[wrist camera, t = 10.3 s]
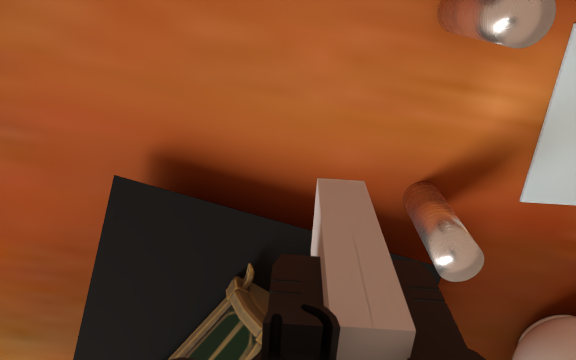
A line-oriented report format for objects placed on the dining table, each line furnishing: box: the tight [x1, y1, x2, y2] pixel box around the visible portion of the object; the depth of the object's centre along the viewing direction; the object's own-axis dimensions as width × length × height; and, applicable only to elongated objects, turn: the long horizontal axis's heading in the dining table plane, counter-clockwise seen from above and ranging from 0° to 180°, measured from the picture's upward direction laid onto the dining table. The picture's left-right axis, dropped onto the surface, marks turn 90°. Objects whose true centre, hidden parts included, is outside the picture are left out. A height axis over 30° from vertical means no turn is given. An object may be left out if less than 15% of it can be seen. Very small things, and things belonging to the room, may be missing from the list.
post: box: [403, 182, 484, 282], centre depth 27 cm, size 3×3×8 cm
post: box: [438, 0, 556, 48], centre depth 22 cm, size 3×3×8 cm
